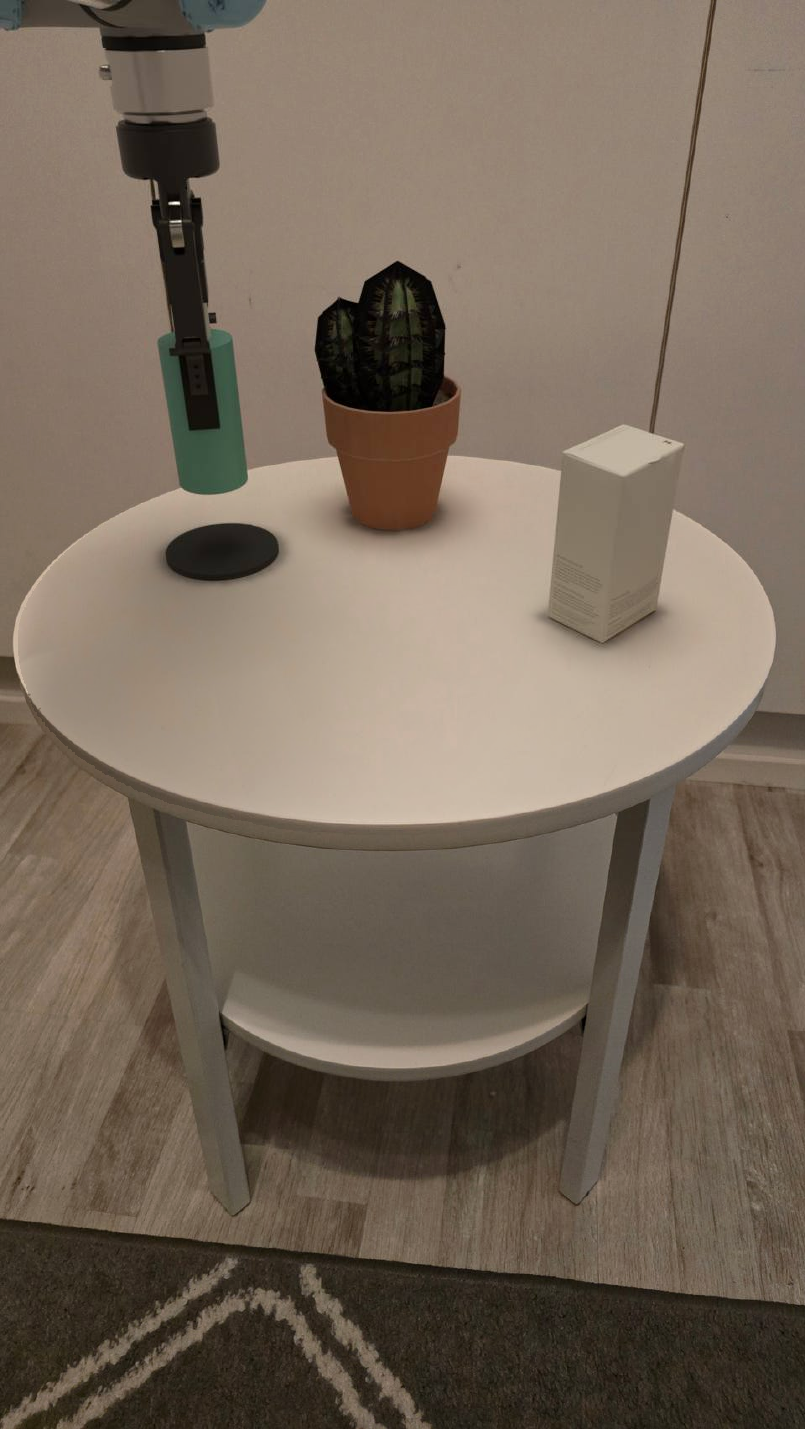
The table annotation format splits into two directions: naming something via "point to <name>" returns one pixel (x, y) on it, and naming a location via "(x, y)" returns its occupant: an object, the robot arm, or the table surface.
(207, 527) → the black round coaster
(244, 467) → the spray bottle
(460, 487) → the table surface
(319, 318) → the potted plant
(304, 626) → the table surface
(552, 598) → the cosmetic box
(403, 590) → the table surface
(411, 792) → the table surface
